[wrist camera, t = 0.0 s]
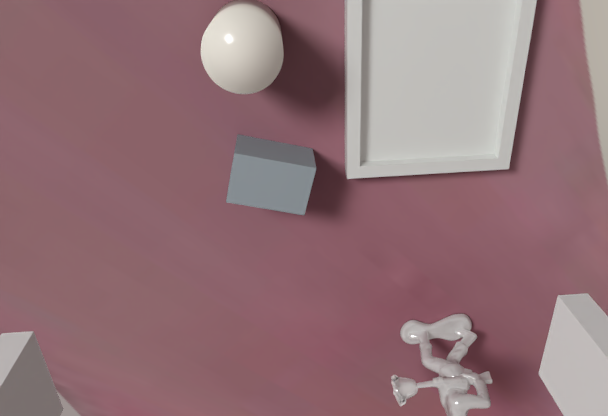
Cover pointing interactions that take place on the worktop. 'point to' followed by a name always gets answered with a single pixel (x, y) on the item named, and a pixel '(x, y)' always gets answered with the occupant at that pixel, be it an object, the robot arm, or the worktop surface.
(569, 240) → the worktop surface
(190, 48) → the worktop surface
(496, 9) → the tray
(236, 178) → the slate block
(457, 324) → the figurine
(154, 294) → the worktop surface
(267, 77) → the white domed cylinder
